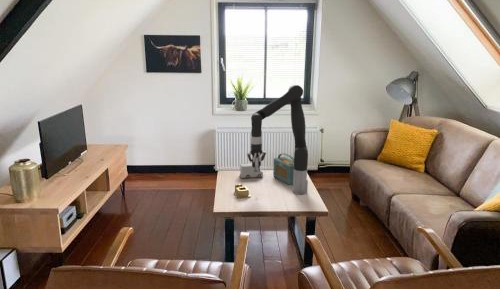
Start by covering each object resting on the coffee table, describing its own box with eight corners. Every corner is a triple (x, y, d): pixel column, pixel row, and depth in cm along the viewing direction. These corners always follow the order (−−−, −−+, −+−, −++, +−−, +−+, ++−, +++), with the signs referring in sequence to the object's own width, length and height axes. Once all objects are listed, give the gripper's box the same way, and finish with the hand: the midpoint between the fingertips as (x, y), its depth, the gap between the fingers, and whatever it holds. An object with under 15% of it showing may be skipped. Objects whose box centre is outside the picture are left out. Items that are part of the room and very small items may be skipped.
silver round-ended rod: (257, 170, 257) (257, 156, 255) (259, 171, 254) (259, 157, 252) (253, 170, 256) (253, 156, 254) (254, 172, 253) (254, 158, 251)
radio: (272, 175, 296) (272, 151, 291) (283, 174, 300) (284, 150, 296) (289, 185, 273) (290, 159, 268) (301, 183, 278) (302, 158, 273)
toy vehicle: (263, 177, 291) (263, 165, 289) (241, 179, 287) (241, 166, 285) (260, 174, 299) (260, 162, 297) (239, 175, 296) (239, 163, 293)
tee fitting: (244, 190, 262) (244, 183, 261) (250, 197, 250) (250, 190, 249) (232, 192, 259) (232, 185, 258) (238, 198, 247) (238, 191, 246)
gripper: (264, 140, 256) (263, 164, 260) (244, 142, 252) (244, 166, 256) (268, 143, 249) (267, 167, 253) (248, 144, 245) (248, 169, 249)
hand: (256, 166), depth 255 cm, fingers closed on silver round-ended rod, 3 cm apart
